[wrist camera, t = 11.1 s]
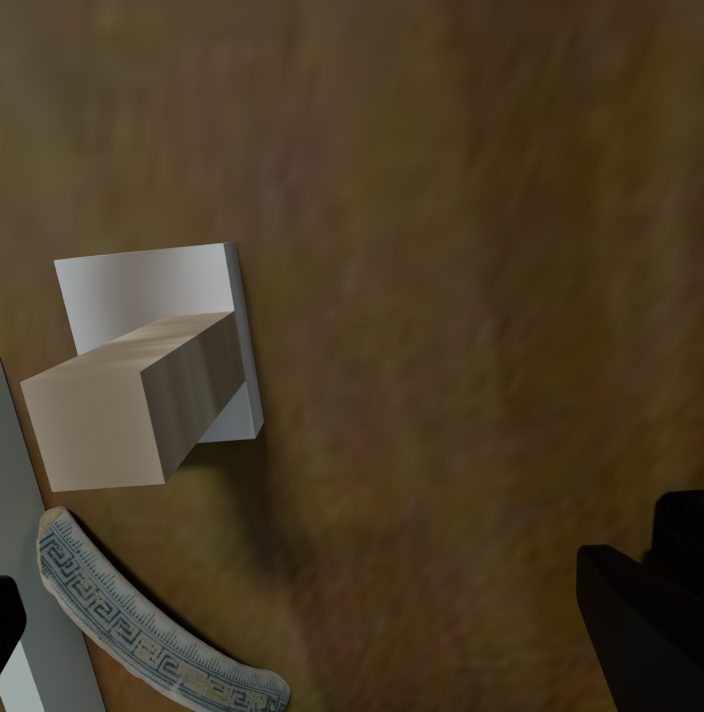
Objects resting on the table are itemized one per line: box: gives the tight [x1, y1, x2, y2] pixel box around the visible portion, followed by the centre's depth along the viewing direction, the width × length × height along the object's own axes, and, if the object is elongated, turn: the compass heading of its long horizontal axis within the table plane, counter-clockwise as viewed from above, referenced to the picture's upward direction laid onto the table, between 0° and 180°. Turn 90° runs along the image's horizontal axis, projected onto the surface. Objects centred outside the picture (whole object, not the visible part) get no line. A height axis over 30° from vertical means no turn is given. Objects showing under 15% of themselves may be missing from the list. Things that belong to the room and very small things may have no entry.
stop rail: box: [0, 362, 106, 712], centre depth 20 cm, size 2×22×3 cm, turn 5°
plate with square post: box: [20, 242, 264, 492], centre depth 14 cm, size 6×7×9 cm
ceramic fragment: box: [36, 506, 290, 712], centre depth 20 cm, size 14×5×4 cm, turn 41°
